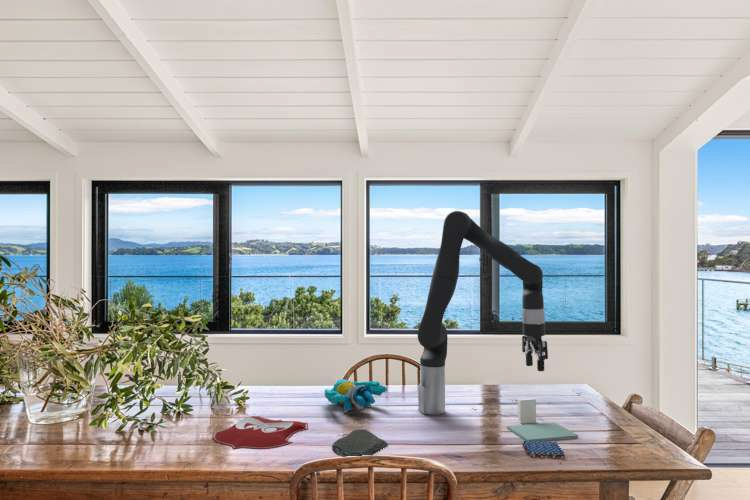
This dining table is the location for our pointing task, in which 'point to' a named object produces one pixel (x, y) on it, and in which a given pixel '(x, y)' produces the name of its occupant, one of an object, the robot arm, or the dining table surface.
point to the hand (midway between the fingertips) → (535, 368)
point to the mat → (542, 432)
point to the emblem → (259, 433)
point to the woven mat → (543, 449)
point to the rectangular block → (527, 410)
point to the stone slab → (358, 444)
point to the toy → (354, 393)
